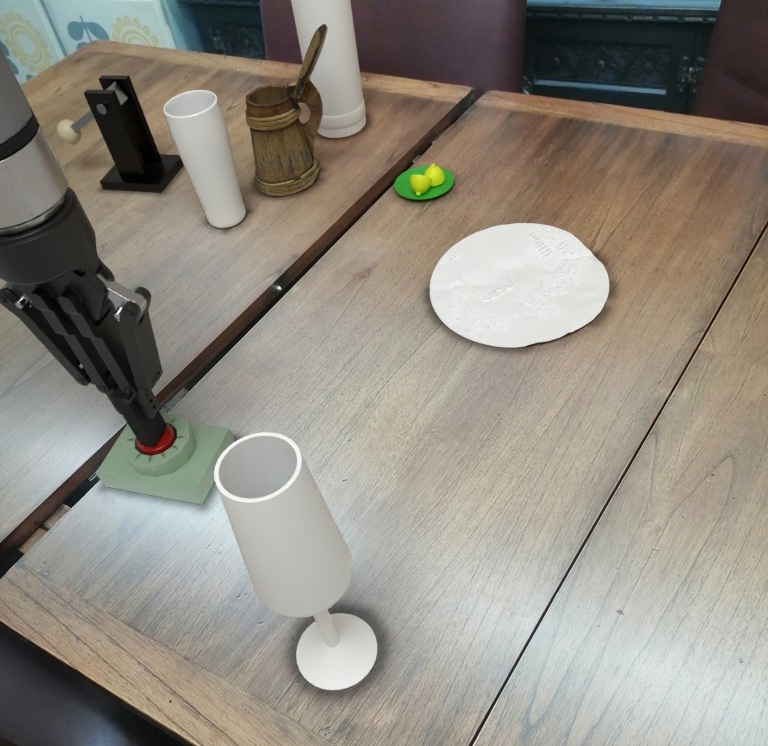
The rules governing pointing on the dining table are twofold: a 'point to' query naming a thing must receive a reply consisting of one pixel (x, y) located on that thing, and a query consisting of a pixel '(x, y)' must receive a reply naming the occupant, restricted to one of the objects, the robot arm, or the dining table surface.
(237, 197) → the drinking glass
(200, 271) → the dining table surface
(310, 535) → the champagne flute
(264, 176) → the wooden mug
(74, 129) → the lever
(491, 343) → the plaque
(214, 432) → the control block
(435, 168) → the lemon
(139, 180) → the lever bracket
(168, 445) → the button
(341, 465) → the dining table surface
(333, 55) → the bottle
